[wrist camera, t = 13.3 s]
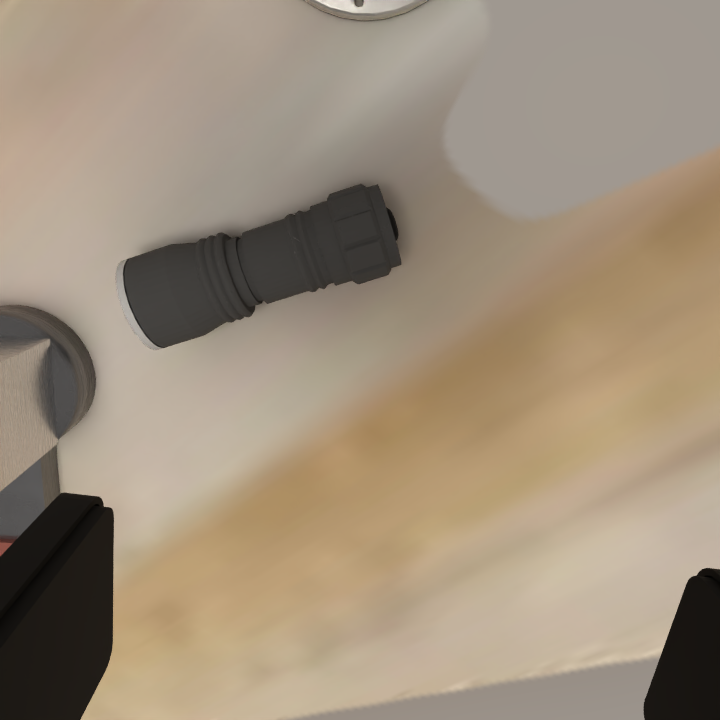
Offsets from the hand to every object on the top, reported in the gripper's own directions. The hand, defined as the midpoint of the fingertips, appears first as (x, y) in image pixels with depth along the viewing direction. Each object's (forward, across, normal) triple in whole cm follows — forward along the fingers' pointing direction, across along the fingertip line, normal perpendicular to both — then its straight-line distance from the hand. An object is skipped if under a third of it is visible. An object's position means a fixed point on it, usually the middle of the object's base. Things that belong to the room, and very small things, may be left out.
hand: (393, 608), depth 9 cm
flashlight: (+28, +6, -1) cm, 29 cm away
